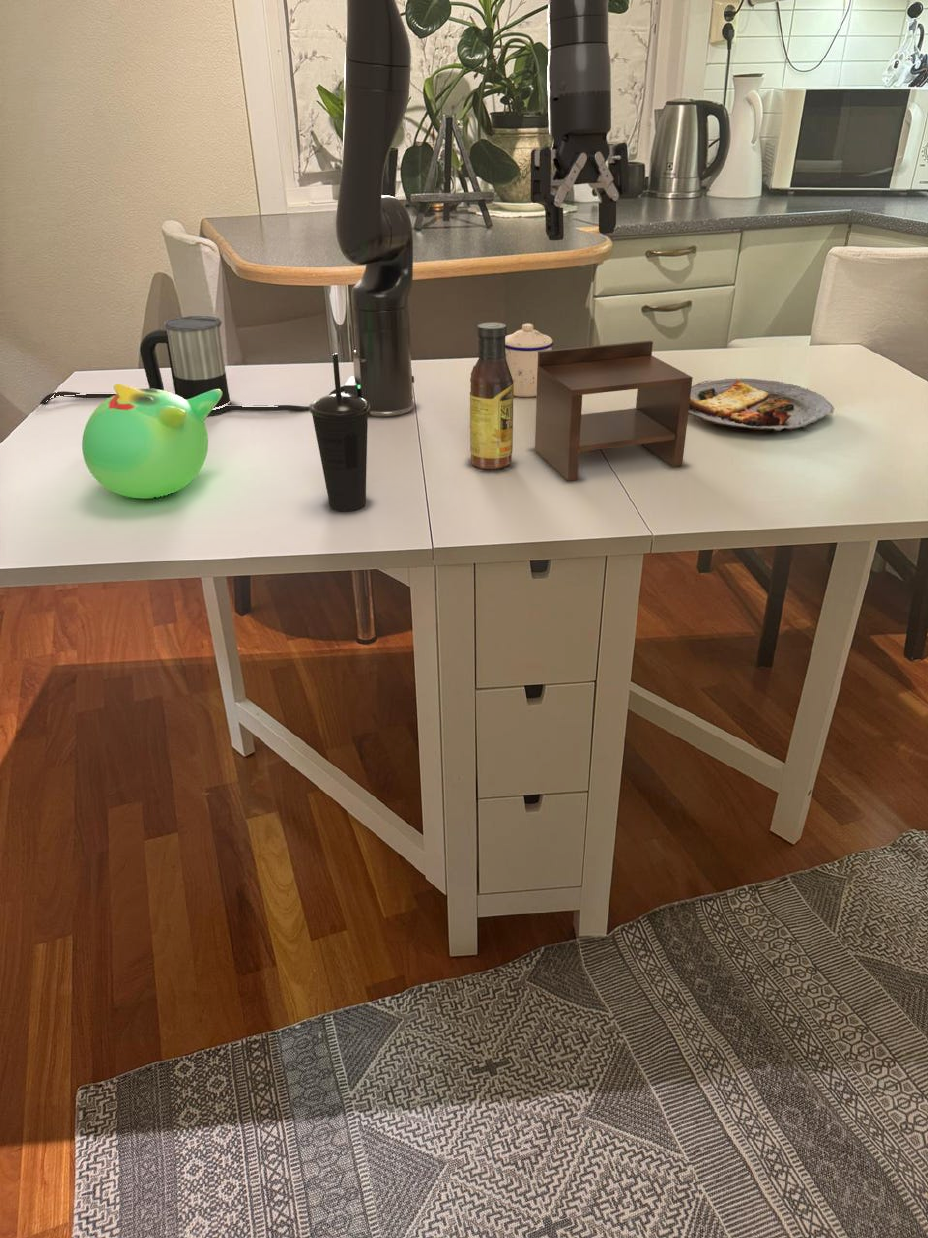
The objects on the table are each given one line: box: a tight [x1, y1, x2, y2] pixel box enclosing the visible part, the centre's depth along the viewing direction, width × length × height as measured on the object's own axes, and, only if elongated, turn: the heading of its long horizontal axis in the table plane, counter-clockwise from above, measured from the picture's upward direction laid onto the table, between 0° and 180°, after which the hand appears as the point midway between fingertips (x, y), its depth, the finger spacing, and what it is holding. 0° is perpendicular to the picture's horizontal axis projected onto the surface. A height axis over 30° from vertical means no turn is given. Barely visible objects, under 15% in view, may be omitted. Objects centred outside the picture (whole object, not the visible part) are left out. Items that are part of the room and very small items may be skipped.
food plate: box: [688, 378, 835, 432], centre depth 151 cm, size 25×23×4 cm
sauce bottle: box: [469, 322, 514, 470], centre depth 129 cm, size 6×6×20 cm
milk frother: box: [139, 315, 233, 417], centre depth 151 cm, size 14×16×15 cm
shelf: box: [534, 340, 694, 482], centre depth 132 cm, size 18×13×15 cm
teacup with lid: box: [505, 323, 554, 398], centre depth 162 cm, size 12×9×12 cm
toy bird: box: [81, 383, 222, 499], centre depth 123 cm, size 18×17×15 cm
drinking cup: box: [308, 353, 370, 513], centre depth 117 cm, size 8×8×20 cm
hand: (581, 236), depth 117 cm, fingers open, 8 cm apart
